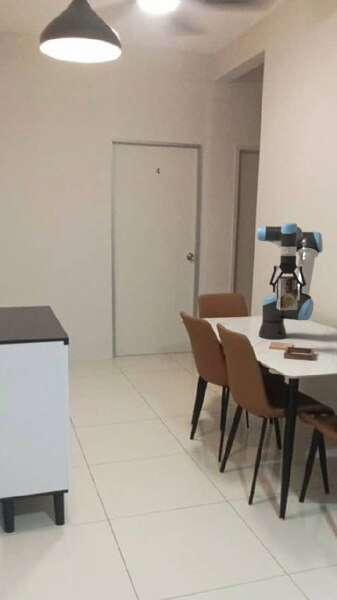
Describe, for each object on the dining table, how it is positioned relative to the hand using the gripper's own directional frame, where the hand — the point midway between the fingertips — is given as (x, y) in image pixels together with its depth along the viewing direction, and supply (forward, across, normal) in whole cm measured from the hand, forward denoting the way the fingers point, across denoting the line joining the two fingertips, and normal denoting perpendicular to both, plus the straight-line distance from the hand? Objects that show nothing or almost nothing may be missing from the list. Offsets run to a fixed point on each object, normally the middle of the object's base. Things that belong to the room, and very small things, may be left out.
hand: (287, 299), depth 257 cm
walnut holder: (+25, +7, -13) cm, 29 cm away
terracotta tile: (+25, -3, +2) cm, 26 cm away
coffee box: (+5, 0, 0) cm, 5 cm away
